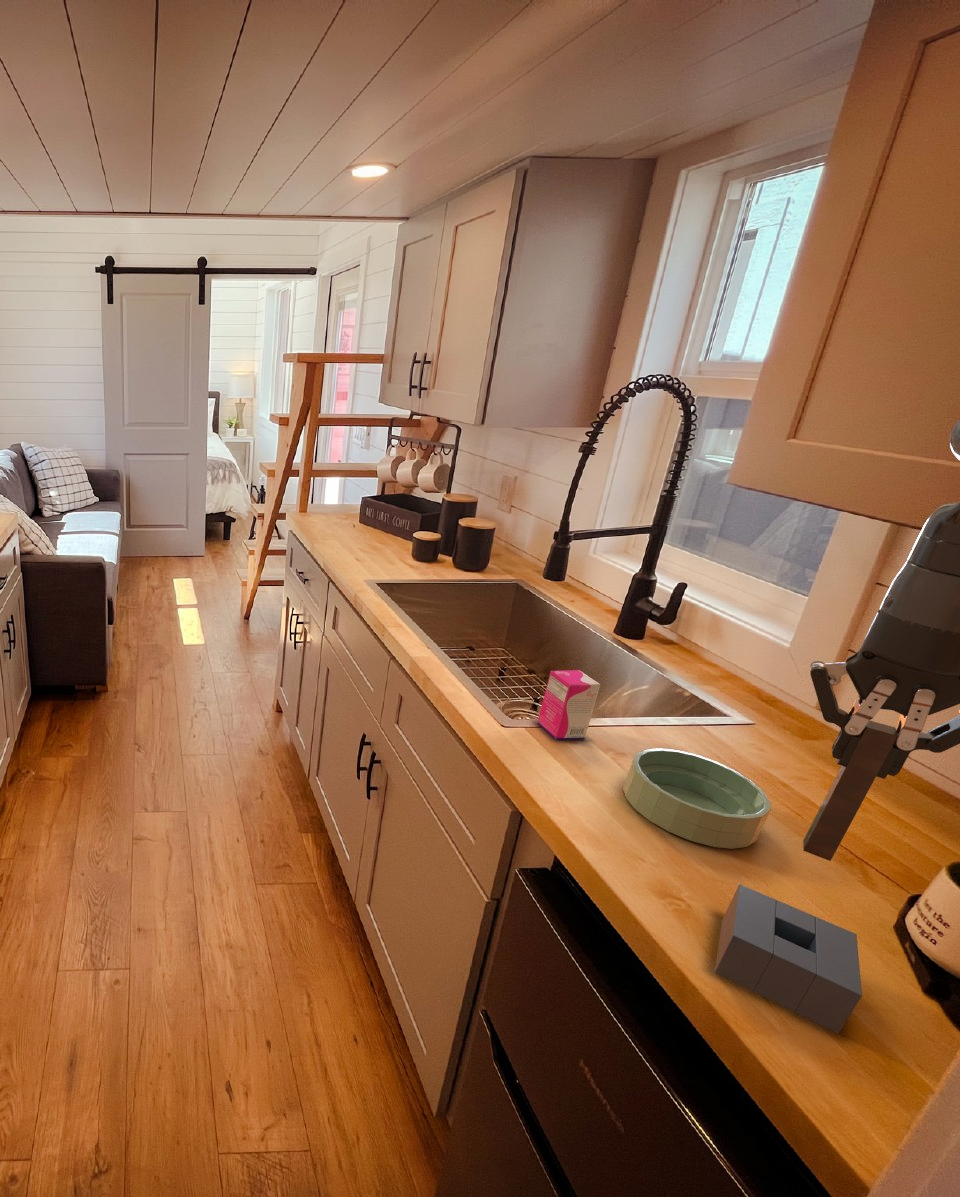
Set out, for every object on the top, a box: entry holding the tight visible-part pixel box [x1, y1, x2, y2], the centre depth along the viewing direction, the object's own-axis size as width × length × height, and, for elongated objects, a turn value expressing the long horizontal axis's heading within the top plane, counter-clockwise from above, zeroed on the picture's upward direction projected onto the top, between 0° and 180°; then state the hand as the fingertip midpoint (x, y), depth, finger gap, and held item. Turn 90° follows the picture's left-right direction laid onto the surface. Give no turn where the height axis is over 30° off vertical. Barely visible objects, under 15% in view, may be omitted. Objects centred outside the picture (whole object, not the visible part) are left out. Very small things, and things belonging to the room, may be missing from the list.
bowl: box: [622, 747, 772, 850], centre depth 98 cm, size 16×16×6 cm
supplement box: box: [536, 669, 601, 741], centre depth 117 cm, size 6×6×12 cm
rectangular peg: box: [802, 720, 898, 862], centre depth 68 cm, size 2×2×16 cm
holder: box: [714, 883, 863, 1035], centre depth 73 cm, size 10×10×6 cm
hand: (859, 767), depth 67 cm, fingers closed on rectangular peg, 2 cm apart
